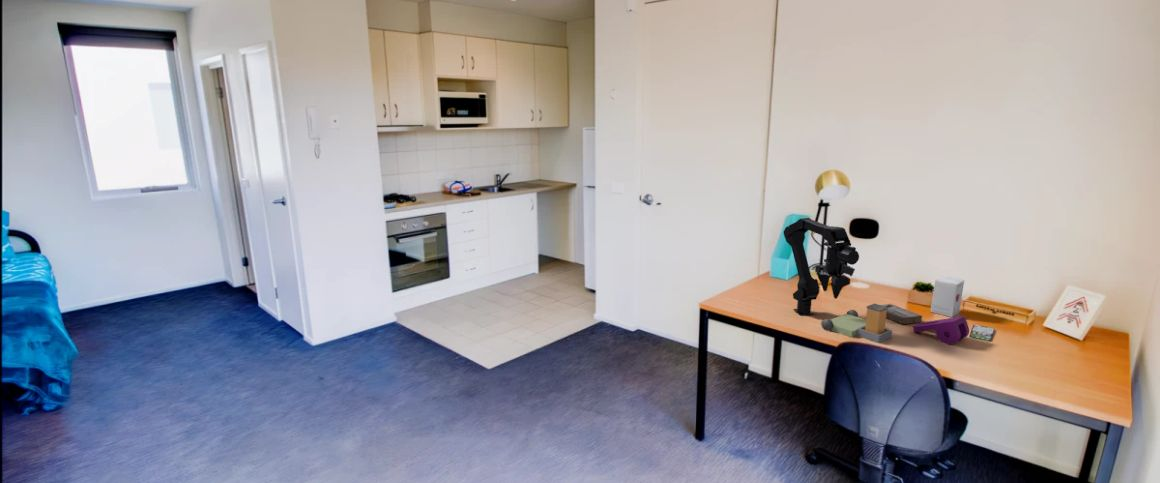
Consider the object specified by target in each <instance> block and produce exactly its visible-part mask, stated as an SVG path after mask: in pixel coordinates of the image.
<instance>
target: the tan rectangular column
mask: <svg viewBox="0 0 1160 483" xmlns="http://www.w3.org/2000/svg"><path fill="white" fill-rule="evenodd" d="M881 305H882V304H877V303H872V304H870V305H867V306H866V309H867V310H866V318H865V320H866V325H865V330H866V331H869V332H872V333H875V334H878V335H879V334H881V333H884V328H886V319H887V318H886V312H887V309H888V307H885V306H881Z"/></svg>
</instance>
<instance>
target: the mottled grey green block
mask: <svg viewBox="0 0 1160 483" xmlns="http://www.w3.org/2000/svg"><path fill="white" fill-rule="evenodd" d="M994 333H995V328H994V327H990V326H984V325H979V324H973V325H972V327H971V331H970V332H969V334H968V338H970V339H973V340H978V341H983V342H987V343H990V342H992V339H993V336H994Z"/></svg>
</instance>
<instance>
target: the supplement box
mask: <svg viewBox="0 0 1160 483" xmlns="http://www.w3.org/2000/svg"><path fill="white" fill-rule="evenodd" d="M964 285H965V280H964V279H960V278H955V277H950V276H945V275H942V276H940V277H938V278H937V279H935V280H934V287H933V293H932V300H931V306H930V313H934V314H937V315H941V316H945V317H949V318H954V317H955V316H956V315H958V314H959V313H960V310H961V304H962V298H963V291H964Z"/></svg>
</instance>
